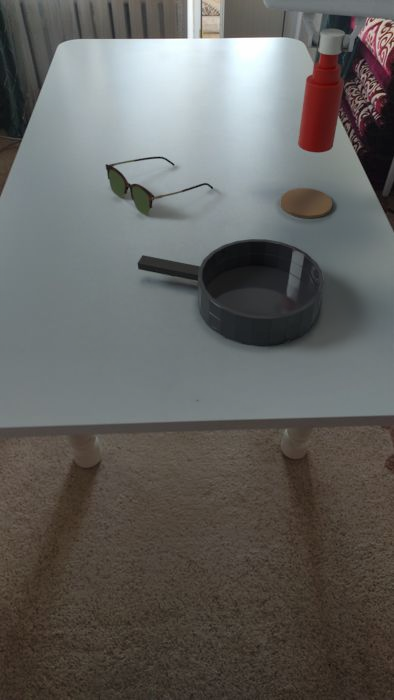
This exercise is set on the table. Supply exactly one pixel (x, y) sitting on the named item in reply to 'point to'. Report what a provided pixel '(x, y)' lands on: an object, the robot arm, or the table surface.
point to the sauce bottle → (322, 95)
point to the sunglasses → (137, 187)
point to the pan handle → (168, 267)
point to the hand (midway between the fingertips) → (330, 48)
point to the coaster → (306, 203)
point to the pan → (259, 291)
